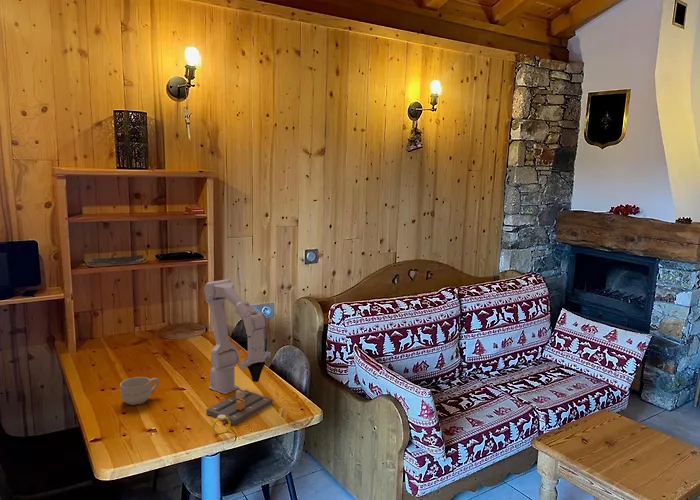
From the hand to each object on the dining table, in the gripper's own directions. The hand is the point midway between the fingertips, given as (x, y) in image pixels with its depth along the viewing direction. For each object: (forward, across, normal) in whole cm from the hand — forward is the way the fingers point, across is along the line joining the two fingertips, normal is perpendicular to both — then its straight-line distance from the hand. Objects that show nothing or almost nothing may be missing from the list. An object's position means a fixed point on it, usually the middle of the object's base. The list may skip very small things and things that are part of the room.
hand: (255, 381), depth 193 cm
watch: (+10, -21, -4) cm, 24 cm away
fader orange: (+8, -8, 0) cm, 11 cm away
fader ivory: (+8, -2, +6) cm, 10 cm away
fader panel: (+10, -5, +3) cm, 11 cm away
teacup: (+10, -22, +38) cm, 45 cm away
